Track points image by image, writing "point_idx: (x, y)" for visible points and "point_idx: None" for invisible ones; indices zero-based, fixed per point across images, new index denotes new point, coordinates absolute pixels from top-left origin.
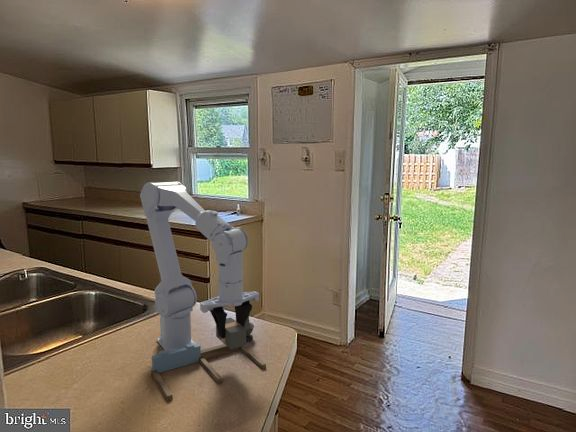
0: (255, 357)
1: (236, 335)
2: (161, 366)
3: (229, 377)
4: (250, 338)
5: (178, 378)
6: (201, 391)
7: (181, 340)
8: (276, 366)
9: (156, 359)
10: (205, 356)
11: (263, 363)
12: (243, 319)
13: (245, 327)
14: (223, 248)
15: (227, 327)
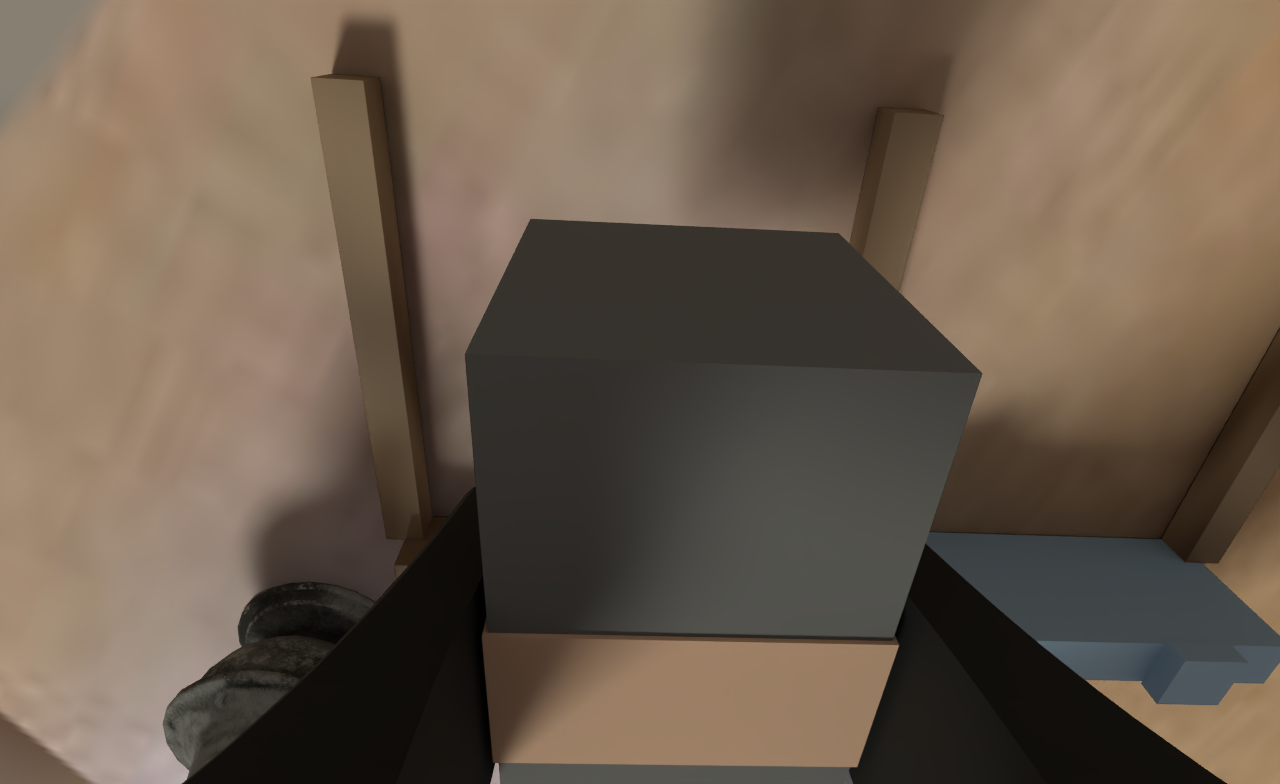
0: (370, 279)
1: (778, 318)
2: (1155, 572)
3: (768, 150)
4: (272, 605)
5: (1101, 402)
6: (1129, 88)
7: (847, 775)
8: (195, 19)
9: (1251, 632)
10: None
11: (336, 105)
12: (377, 720)
13: None
14: None
15: (829, 647)
